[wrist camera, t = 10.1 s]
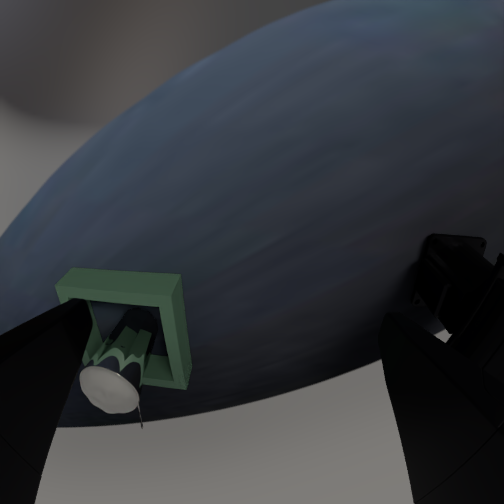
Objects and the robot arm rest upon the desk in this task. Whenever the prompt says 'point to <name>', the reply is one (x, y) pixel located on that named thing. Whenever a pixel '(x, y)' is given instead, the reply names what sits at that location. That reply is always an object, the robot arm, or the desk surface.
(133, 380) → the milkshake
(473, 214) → the desk surface
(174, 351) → the green square frame
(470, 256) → the robot arm
